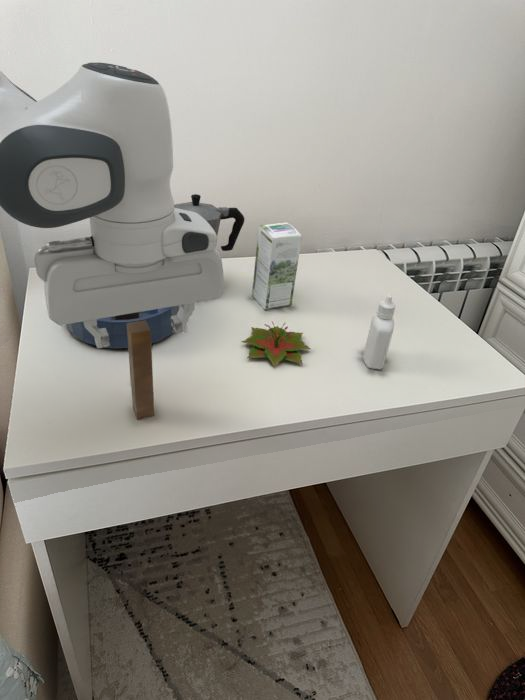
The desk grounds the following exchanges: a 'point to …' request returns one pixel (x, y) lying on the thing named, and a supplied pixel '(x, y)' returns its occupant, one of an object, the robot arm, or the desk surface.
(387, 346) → the eye dropper bottle
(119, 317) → the block
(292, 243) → the syrup box
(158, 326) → the bowl
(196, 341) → the desk surface
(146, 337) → the stick
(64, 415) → the desk surface
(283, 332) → the lily flower
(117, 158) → the robot arm
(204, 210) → the coffeepot
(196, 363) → the desk surface
